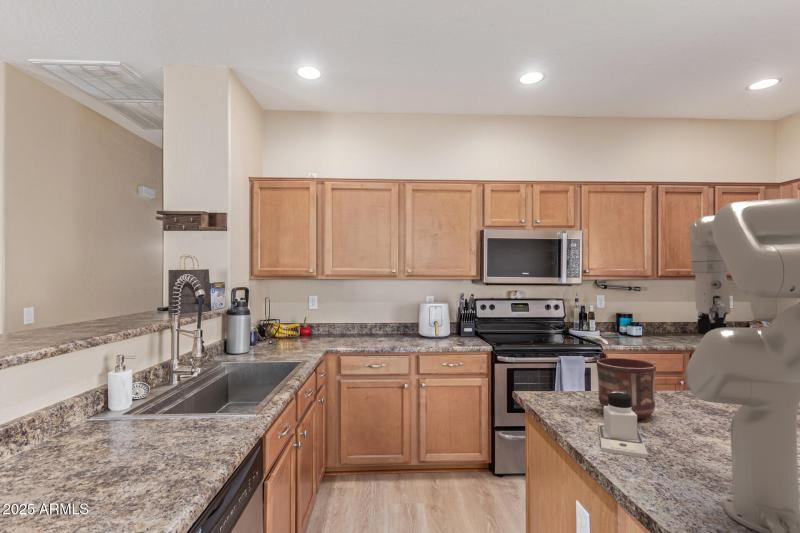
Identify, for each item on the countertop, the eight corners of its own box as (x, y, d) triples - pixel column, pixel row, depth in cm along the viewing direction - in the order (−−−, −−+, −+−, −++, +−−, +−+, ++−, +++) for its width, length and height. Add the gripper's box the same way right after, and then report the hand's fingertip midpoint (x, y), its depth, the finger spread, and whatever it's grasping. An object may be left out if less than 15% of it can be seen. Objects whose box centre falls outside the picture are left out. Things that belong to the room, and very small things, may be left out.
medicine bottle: (638, 440, 111) (637, 397, 111) (611, 438, 112) (609, 396, 113) (629, 430, 118) (628, 390, 118) (603, 429, 119) (602, 389, 120)
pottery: (645, 429, 121) (644, 371, 122) (588, 414, 135) (587, 361, 135) (665, 416, 132) (663, 363, 133) (610, 403, 146) (609, 355, 146)
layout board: (648, 458, 102) (648, 453, 102) (601, 451, 107) (601, 446, 107) (637, 430, 120) (637, 426, 120) (598, 425, 125) (598, 421, 125)
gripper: (741, 267, 89) (744, 343, 88) (716, 268, 105) (718, 332, 104) (700, 268, 92) (703, 341, 91) (682, 269, 108) (684, 331, 107)
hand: (711, 336), depth 98 cm, fingers open, 9 cm apart
